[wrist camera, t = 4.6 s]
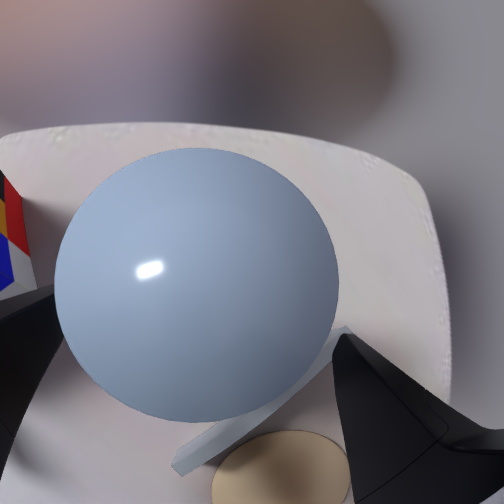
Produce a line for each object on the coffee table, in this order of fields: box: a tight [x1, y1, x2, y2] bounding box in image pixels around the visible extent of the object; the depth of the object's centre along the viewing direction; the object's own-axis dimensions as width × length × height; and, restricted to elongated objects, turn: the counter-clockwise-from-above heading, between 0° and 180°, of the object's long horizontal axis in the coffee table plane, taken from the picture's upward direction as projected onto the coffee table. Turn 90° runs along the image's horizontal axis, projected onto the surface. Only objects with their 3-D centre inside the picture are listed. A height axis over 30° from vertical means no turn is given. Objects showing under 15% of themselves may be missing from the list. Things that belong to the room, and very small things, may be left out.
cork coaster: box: [212, 430, 350, 504], centre depth 12 cm, size 9×9×1 cm
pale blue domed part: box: [55, 148, 339, 423], centre depth 10 cm, size 5×5×12 cm
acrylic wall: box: [171, 326, 353, 477], centre depth 13 cm, size 12×1×3 cm, turn 129°
